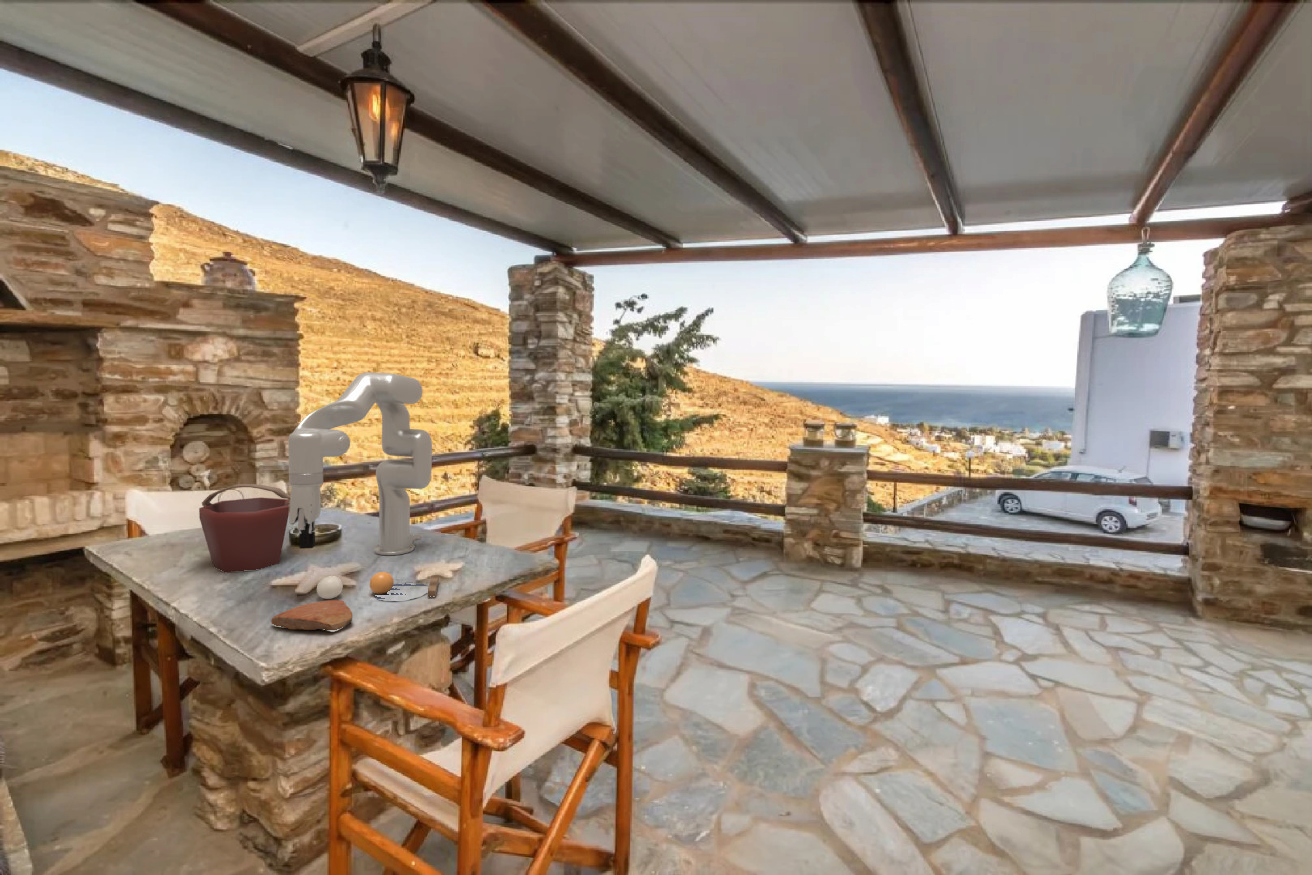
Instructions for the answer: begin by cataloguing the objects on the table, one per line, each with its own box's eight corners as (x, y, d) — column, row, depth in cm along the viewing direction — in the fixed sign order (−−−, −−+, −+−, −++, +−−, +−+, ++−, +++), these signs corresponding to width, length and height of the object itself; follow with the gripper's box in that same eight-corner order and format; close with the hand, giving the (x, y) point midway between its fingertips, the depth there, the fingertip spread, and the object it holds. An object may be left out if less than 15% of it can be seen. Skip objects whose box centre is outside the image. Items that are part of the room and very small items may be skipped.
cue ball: (328, 572, 149) (344, 587, 150) (308, 588, 145) (325, 604, 146) (334, 570, 145) (350, 586, 146) (314, 586, 141) (330, 603, 142)
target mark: (407, 579, 161) (407, 579, 161) (440, 589, 155) (440, 588, 155) (362, 594, 149) (362, 594, 149) (397, 606, 143) (397, 605, 143)
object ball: (374, 572, 153) (392, 583, 155) (361, 589, 149) (380, 601, 151) (382, 564, 150) (401, 576, 152) (369, 582, 145) (389, 594, 147)
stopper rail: (431, 582, 160) (431, 576, 160) (438, 582, 160) (438, 575, 160) (427, 598, 148) (427, 591, 148) (435, 597, 149) (435, 590, 149)
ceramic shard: (290, 624, 119) (268, 614, 128) (296, 652, 119) (274, 639, 129) (359, 597, 130) (335, 589, 140) (365, 623, 131) (340, 613, 140)
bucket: (311, 556, 179) (310, 481, 176) (255, 579, 157) (253, 494, 154) (242, 550, 181) (240, 476, 179) (178, 572, 159) (175, 488, 157)
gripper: (298, 474, 148) (299, 540, 150) (279, 484, 134) (280, 556, 135) (330, 474, 150) (330, 538, 152) (314, 483, 136) (315, 555, 138)
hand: (307, 547), depth 144 cm, fingers closed
